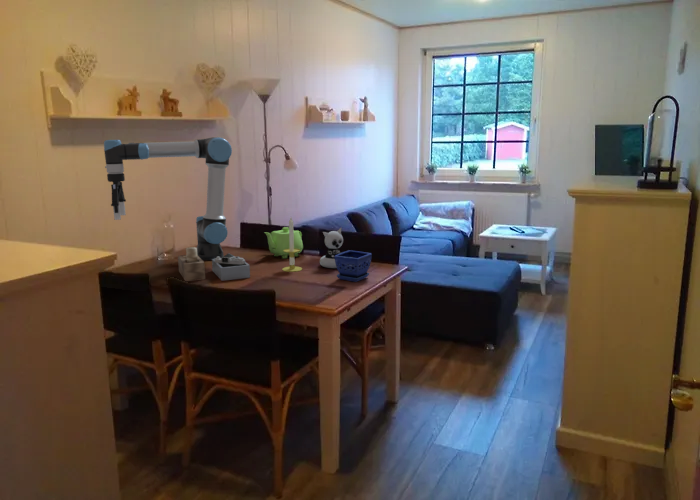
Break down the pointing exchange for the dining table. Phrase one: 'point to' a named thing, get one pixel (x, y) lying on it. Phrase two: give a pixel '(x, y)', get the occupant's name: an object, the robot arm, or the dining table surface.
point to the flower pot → (353, 265)
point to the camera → (229, 261)
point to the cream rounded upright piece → (191, 254)
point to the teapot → (283, 242)
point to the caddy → (231, 271)
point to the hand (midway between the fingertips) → (120, 217)
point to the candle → (291, 251)
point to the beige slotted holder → (191, 269)
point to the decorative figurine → (332, 248)
